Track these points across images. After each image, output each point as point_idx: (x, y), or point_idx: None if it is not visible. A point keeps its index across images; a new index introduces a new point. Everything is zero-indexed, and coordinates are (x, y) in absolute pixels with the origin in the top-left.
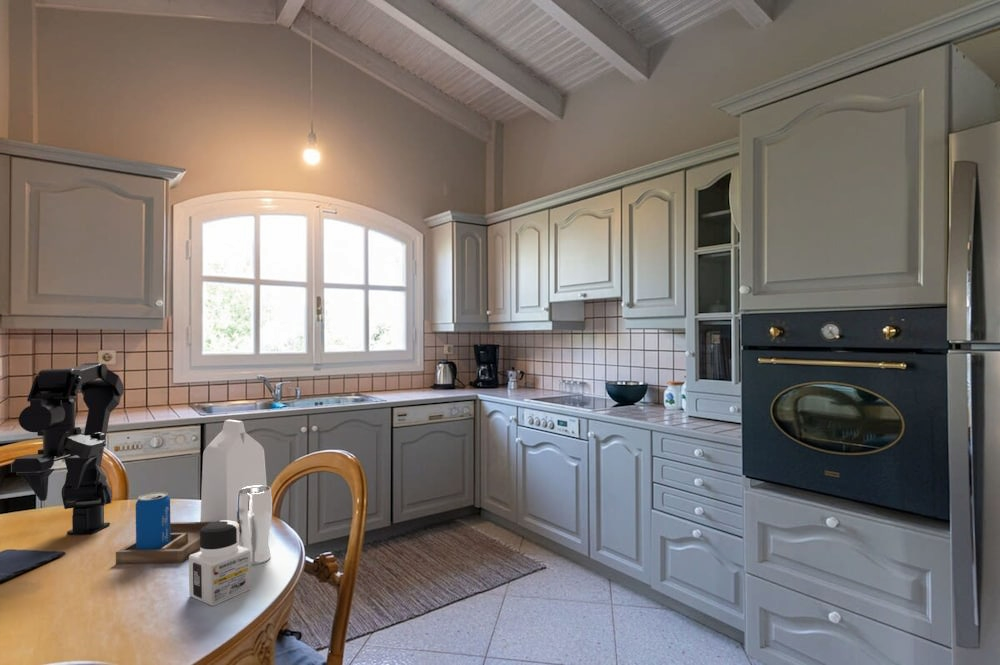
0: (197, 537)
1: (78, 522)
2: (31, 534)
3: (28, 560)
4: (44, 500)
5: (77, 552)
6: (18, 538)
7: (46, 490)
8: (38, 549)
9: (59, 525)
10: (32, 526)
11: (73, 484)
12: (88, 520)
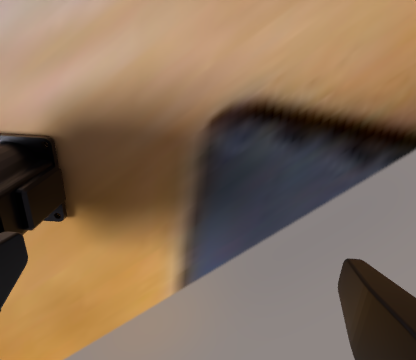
0: None
1: (44, 195)
2: (75, 303)
3: (271, 188)
4: (360, 260)
5: (219, 71)
6: (104, 314)
7: (414, 311)
8: (183, 217)
9: None
10: (24, 334)
11: (6, 277)
12: (19, 173)
